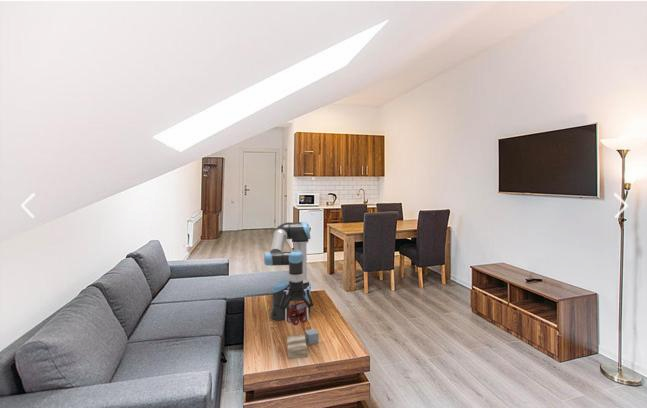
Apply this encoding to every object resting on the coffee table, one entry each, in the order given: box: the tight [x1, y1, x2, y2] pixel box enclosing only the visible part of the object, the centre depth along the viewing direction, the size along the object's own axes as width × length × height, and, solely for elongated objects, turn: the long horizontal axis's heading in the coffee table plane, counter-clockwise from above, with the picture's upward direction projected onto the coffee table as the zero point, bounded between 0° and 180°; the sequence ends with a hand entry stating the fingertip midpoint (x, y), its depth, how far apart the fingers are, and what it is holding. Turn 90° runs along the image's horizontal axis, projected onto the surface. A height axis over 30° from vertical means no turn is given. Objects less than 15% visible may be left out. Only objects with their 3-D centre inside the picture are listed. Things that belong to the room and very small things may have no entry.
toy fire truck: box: [286, 301, 307, 326], centre depth 168 cm, size 7×12×10 cm, turn 127°
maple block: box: [286, 333, 308, 359], centre depth 169 cm, size 15×10×5 cm, turn 9°
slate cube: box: [304, 328, 320, 346], centre depth 178 cm, size 6×6×6 cm
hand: (296, 319), depth 168 cm, fingers closed on toy fire truck, 11 cm apart
